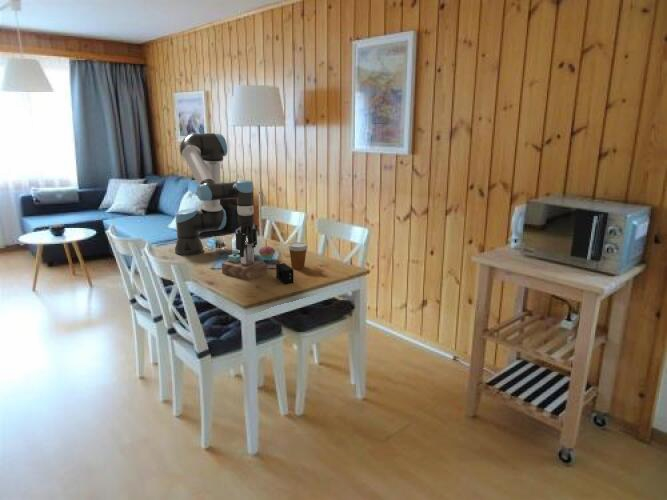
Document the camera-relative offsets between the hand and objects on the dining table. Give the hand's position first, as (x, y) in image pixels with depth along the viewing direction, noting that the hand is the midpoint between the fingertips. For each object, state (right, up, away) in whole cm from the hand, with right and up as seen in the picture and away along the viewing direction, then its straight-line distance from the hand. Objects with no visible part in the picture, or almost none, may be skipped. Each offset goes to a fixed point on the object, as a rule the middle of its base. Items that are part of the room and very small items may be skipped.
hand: (247, 261), depth 220 cm
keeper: (-7, 0, +4) cm, 8 cm away
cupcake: (+6, 0, +24) cm, 25 cm away
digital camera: (+18, -9, -6) cm, 21 cm away
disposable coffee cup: (+23, -3, +13) cm, 27 cm away
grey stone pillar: (0, -6, +2) cm, 6 cm away
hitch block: (-2, -6, +3) cm, 7 cm away
